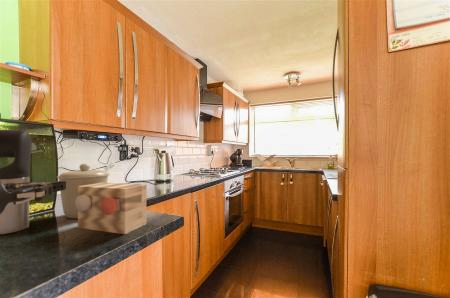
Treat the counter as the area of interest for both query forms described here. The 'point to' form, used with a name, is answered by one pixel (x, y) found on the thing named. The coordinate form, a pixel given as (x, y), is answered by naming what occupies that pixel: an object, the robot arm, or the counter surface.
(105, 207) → the red plug
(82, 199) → the beige plug
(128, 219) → the block
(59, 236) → the counter surface
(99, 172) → the canister
